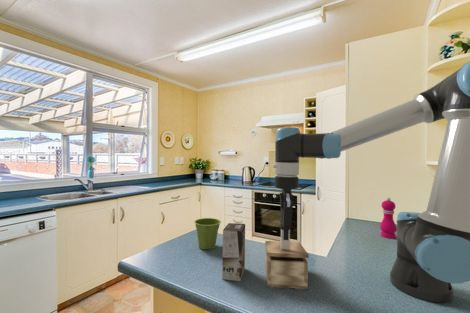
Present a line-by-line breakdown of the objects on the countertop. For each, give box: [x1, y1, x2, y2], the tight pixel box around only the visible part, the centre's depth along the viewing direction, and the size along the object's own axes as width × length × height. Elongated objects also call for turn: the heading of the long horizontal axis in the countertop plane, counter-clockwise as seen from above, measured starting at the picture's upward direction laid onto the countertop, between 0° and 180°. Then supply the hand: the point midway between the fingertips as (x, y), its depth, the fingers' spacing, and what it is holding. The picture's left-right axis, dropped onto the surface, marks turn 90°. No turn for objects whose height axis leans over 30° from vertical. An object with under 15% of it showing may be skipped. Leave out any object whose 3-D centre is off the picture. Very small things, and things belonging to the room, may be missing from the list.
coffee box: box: [221, 222, 246, 282], centre depth 78 cm, size 9×6×16 cm
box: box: [265, 250, 309, 290], centre depth 77 cm, size 12×14×8 cm
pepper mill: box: [379, 197, 397, 239], centre depth 117 cm, size 7×7×20 cm
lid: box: [264, 240, 310, 259], centre depth 77 cm, size 12×14×1 cm
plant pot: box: [193, 217, 222, 250], centre depth 101 cm, size 12×12×11 cm
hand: (285, 248), depth 74 cm, fingers closed
